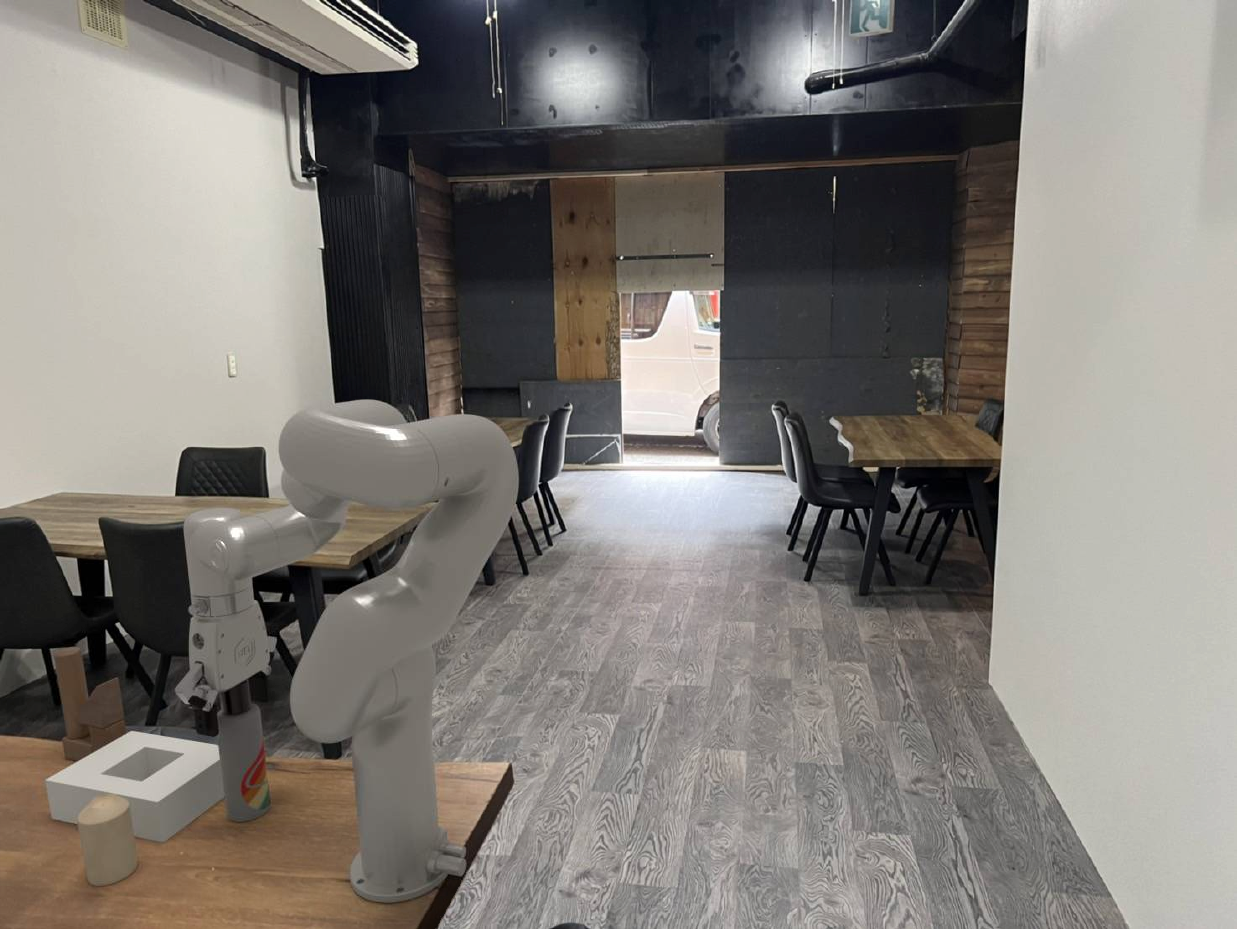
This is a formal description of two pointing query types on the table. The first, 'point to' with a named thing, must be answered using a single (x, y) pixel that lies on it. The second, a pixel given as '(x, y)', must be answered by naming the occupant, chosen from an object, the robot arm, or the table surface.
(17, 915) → the table surface
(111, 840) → the candle
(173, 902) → the table surface
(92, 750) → the brown block with handle
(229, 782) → the lotion bottle
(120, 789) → the bottle caddy
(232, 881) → the table surface
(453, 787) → the table surface
